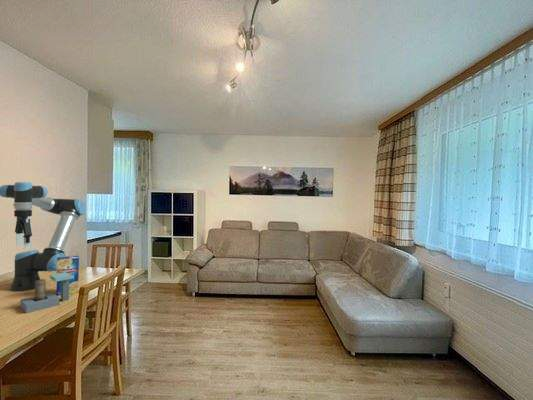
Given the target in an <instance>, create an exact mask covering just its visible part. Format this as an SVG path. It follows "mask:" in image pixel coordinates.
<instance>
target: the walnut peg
mask: <svg viewBox="0 0 533 400" xmlns="http://www.w3.org/2000/svg"><path fill="white" fill-rule="evenodd" d="M46 282H47V281H46V279H44V278H42V279H41V278H40V280H36V281H35V288H34V296H35V302H36V301H40V300H44V299H45V294H46Z"/></svg>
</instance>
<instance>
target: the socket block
mask: <svg viewBox="0 0 533 400" xmlns="http://www.w3.org/2000/svg"><path fill="white" fill-rule="evenodd" d="M57 306H60V297H59V296H56V294H54V293H53V292H48V293H45V299H44V300H40V301H36V302H35V295H34V296H30V297H25V298H21V299H20V306H19V307H20V308H21V309H22V310H23V311H24V312H25V313H26V314H29V313H32V312H36V311H40V310H41V311H42V310H45V309H49V308H51V307H57Z"/></svg>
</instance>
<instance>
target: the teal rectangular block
mask: <svg viewBox="0 0 533 400" xmlns="http://www.w3.org/2000/svg"><path fill="white" fill-rule="evenodd" d="M49 279H51V280H52V281H54V282H56V283H57V281H61V295H60V300H61V301H62V302H65V301H69V300H70V294H69V279H71V275H70V274H68V273H66V272H64V273H58V274H57V273H54V274H53V273H52V274H49Z"/></svg>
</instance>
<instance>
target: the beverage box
mask: <svg viewBox="0 0 533 400" xmlns="http://www.w3.org/2000/svg"><path fill="white" fill-rule="evenodd" d="M79 266H80V256H79V255H69V256H67V255H66V257H57V271H56V274H58V273H64V272H66V273H68V274H70V275H71V279H69V295H72V294H79V277H80V274H79V273H80V272H79V269H80V268H79ZM55 295H56V296H58V297H59V296H60V297H61V281H57V282H56V294H55Z"/></svg>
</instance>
